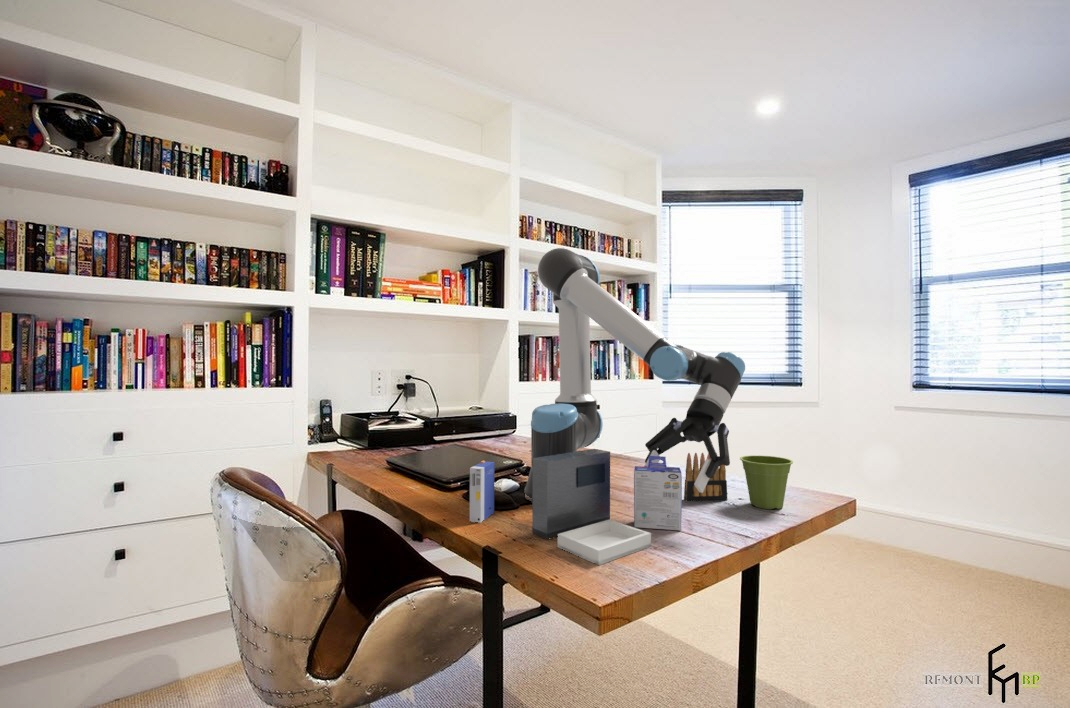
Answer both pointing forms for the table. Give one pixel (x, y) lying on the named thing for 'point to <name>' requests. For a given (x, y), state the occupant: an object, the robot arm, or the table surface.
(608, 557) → the tray
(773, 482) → the plant pot
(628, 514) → the table surface
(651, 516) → the ink cartridge box
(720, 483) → the ammunition clip
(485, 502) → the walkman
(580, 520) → the block
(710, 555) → the table surface
